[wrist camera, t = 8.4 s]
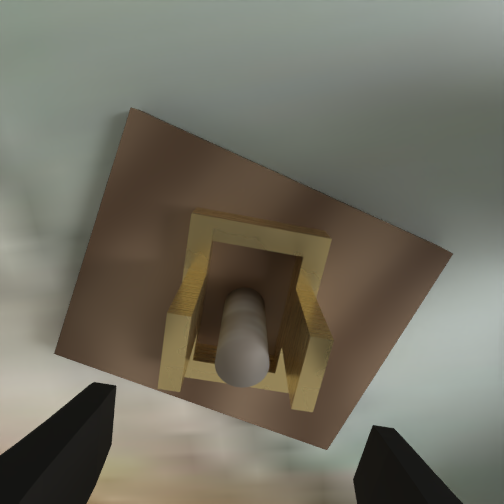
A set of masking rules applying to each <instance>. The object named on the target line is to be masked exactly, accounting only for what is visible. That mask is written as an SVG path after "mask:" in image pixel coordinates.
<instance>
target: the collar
mask: <svg viewBox="0 0 504 504" xmlns="http://www.w3.org/2000/svg"><path fill="white" fill-rule="evenodd" d="M214 241H217V242H222V243H228V244H234V245H239V246H245V247H250V248H256V249H262V250H267V251H273V252H278V253H284V254H290V255H295V256H297V258H296V262H295V266H294V270H293V274H292V279H291V283H290V287H289V291H288V296H287V300H286V304H285V308H284V312H283V317H282V321H281V325H280V329H279V334H278V338H277V342H276V346H275V350H274V355H269V370H268V373H267V375H266V376H265V378H264V379H263V380H262V381H261V382H259V383H258V384H256V385H253V386H250V387H252V388H258V389H265V390H271V391H278V392H284V393H289V398H290V404H291V409H294V410H301V411H307V412H313V410H314V407H315V404H316V400H317V397H318V393H319V390H320V386H321V383H322V380H323V376H324V373H325V369H326V366H327V362H328V359H329V356H330V352H331V349H332V345H333V342H334V339H333V337H332V334H331V332H330V330H329V327H328V325H327V323H326V320H325V318H324V315H323V313H322V311H321V308H320V306H319V304H318V301H317V299H316V297H317V294H318V290H319V286H320V282H321V278H322V275H323V271H324V267H325V263H326V260H327V256H328V252H329V248H330V244H331V241H332V239H331V237H330V236H329V235H328V234H327V233H326V231H324V230H319V229H313V228H308V227H302V226H297V225H291V224H286V223H281V222H275V221H270V220H264V219H259V218H253V217H248V216H242V215H237V214H231V213H226V212H221V211H215V210H210V209H204V208H199V207H197V208H196V209H195V210H194V211H193V212H192V213H191V220H190V227H189V235H188V242H187V249H186V257H185V264H184V271H183V279H182V284H181V286H180V288H179V290H178V292H177V294H176V296H175V298H174V300H173V302H172V304H171V306H170V308H169V310H168V312H167V317H166V325H165V333H164V341H163V349H162V357H161V365H160V373H159V381H158V389H163V390H169V391H176V392H180V391H181V388H182V384H183V381H184V377H187V378H194V379H200V380H207V381H213V382H220V383H225V382H224V381H223V380H222V379H221V378H220V377H219V376H218V374H217V372H216V369H215V358H216V352H217V346H213V345H207V344H200V343H198V337H199V330H200V324H201V318H202V312H203V305H204V299H205V293H206V286H207V280H208V274H209V268H210V261H211V255H212V249H213V243H214ZM226 384H227V383H226Z"/></svg>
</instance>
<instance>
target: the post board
mask: <svg viewBox="0 0 504 504" xmlns="http://www.w3.org/2000/svg"><path fill="white" fill-rule="evenodd" d="M197 207H199V208H204V209H210V210H215V211H221V212H226V213H231V214H237V215H242V216H248V217H253V218H259V219H264V220H270V221H275V222H281V223H286V224H291V225H297V226H302V227H308V228H313V229H319V230H324V231H326V233H327V234H328V235H329V236H330V237H331V239H332V241H331V244H330V248H329V252H328V256H327V260H326V263H325V267H324V271H323V275H322V278H321V282H320V286H319V290H318V294H317V297H316V299H317V301H318V304H319V306H320V308H321V311H322V313H323V315H324V318H325V320H326V323H327V325H328V327H329V330H330V332H331V334H332V337H333V339H334V342H333V345H332V349H331V352H330V356H329V359H328V362H327V366H326V369H325V373H324V376H323V380H322V383H321V386H320V390H319V393H318V397H317V400H316V404H315V407H314V410H313V412H307V411H301V410H294V409H291V404H290V398H289V393H284V392H278V391H271V390H265V389H258V388H252V387H250V386H253V385H256V384H258V383H259V382H261V381H262V380H263V379H264V378H265V376H266V375H267V373H268V370H269V355H274V350H275V346H276V342H277V338H278V334H279V329H280V325H281V321H282V317H283V312H284V308H285V304H286V300H287V296H288V291H289V287H290V283H291V279H292V274H293V270H294V266H295V262H296V258H297V256H295V255H290V254H284V253H278V252H273V251H267V250H262V249H256V248H250V247H245V246H239V245H234V244H228V243H222V242H217V241H214V243H213V249H212V255H211V261H210V268H209V274H208V280H207V286H206V293H205V299H204V305H203V312H202V318H201V324H200V330H199V337H198V343H200V344H207V345H213V346H217V352H216V358H215V369H216V372H217V374H218V376H219V377H220V378H221V379H222V380H223V381H224V382H225V383H220V382H213V381H207V380H200V379H194V378H187V377H184V381H183V384H182V388H181V391H180V392H176V391H169V390H163V389H158V381H159V373H160V365H161V357H162V349H163V341H164V333H165V325H166V317H167V312H168V310H169V308H170V306H171V304H172V302H173V300H174V298H175V296H176V294H177V292H178V290H179V288H180V286H181V284H182V279H183V271H184V264H185V257H186V249H187V242H188V235H189V227H190V220H191V213H192V212H193V211H194V210H195V209H196V208H197ZM452 255H453V253H451V252H449V251H447V250H445V249H444V248H442V247H440V246H438V245H435V244H433V243H431V242H429V241H427V240H424V239H422V238H420V237H418V236H416V235H413V234H411V233H409V232H407V231H405V230H402V229H400V228H398V227H396V226H394V225H391V224H389V223H387V222H385V221H383V220H380V219H378V218H376V217H374V216H372V215H369V214H367V213H365V212H363V211H361V210H358V209H356V208H354V207H352V206H350V205H347V204H345V203H343V202H341V201H339V200H336V199H334V198H332V197H330V196H328V195H325V194H323V193H321V192H319V191H317V190H314V189H312V188H310V187H308V186H306V185H303V184H301V183H299V182H297V181H295V180H292V179H290V178H288V177H286V176H284V175H281V174H279V173H277V172H275V171H273V170H270V169H268V168H266V167H264V166H262V165H259V164H257V163H255V162H253V161H250V160H248V159H246V158H244V157H242V156H239V155H237V154H235V153H233V152H231V151H228V150H226V149H224V148H222V147H220V146H217V145H215V144H213V143H211V142H209V141H206V140H204V139H202V138H200V137H198V136H195V135H193V134H191V133H189V132H187V131H184V130H182V129H180V128H178V127H176V126H173V125H171V124H169V123H167V122H165V121H162V120H160V119H158V118H156V117H154V116H151V115H149V114H147V113H145V112H143V111H140V110H137V109H134V108H130V112H129V115H128V118H127V121H126V124H125V128H124V131H123V134H122V137H121V140H120V144H119V147H118V150H117V153H116V157H115V160H114V163H113V166H112V169H111V173H110V176H109V179H108V182H107V185H106V189H105V192H104V195H103V198H102V202H101V205H100V208H99V211H98V214H97V218H96V221H95V224H94V227H93V230H92V234H91V237H90V240H89V243H88V247H87V250H86V253H85V256H84V259H83V263H82V266H81V269H80V272H79V275H78V279H77V282H76V285H75V288H74V292H73V295H72V298H71V301H70V304H69V308H68V311H67V314H66V317H65V321H64V324H63V327H62V330H61V333H60V337H59V340H58V343H57V346H56V349H55V353H54V354H56V355H59V356H62V357H65V358H67V359H70V360H73V361H76V362H79V363H82V364H84V365H87V366H90V367H93V368H96V369H99V370H101V371H104V372H107V373H110V374H113V375H116V376H118V377H121V378H124V379H127V380H130V381H133V382H135V383H138V384H141V385H144V386H147V387H150V388H152V389H155V390H158V391H161V392H164V393H167V394H169V395H172V396H175V397H178V398H181V399H184V400H186V401H189V402H192V403H195V404H198V405H201V406H203V407H206V408H209V409H212V410H215V411H218V412H220V413H223V414H226V415H229V416H232V417H235V418H237V419H240V420H243V421H246V422H249V423H252V424H254V425H257V426H260V427H263V428H266V429H269V430H271V431H274V432H277V433H280V434H283V435H286V436H288V437H291V438H294V439H297V440H300V441H303V442H305V443H308V444H311V445H314V446H317V447H320V448H322V449H325V450H327V449H328V448H329V446H330V445H331V443H332V442H333V440H334V438H335V437H336V435H337V434H338V432H339V431H340V429H341V428H342V426H343V424H344V423H345V421H346V420H347V418H348V417H349V415H350V414H351V412H352V410H353V409H354V407H355V406H356V404H357V403H358V401H359V400H360V398H361V396H362V395H363V393H364V392H365V390H366V389H367V387H368V386H369V384H370V382H371V381H372V379H373V378H374V376H375V375H376V373H377V372H378V370H379V368H380V367H381V365H382V364H383V362H384V361H385V359H386V357H387V356H388V354H389V353H390V351H391V350H392V348H393V347H394V345H395V343H396V342H397V340H398V339H399V337H400V336H401V334H402V333H403V331H404V329H405V328H406V326H407V325H408V323H409V322H410V320H411V319H412V317H413V315H414V314H415V312H416V311H417V309H418V308H419V306H420V305H421V303H422V301H423V300H424V298H425V297H426V295H427V294H428V292H429V291H430V289H431V287H432V286H433V284H434V283H435V281H436V280H437V278H438V277H439V275H440V273H441V272H442V270H443V269H444V267H445V266H446V264H447V263H448V261H449V259H450V258H451V256H452ZM226 383H227V384H226Z"/></svg>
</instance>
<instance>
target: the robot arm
mask: <svg viewBox="0 0 504 504" xmlns="http://www.w3.org/2000/svg"><path fill="white" fill-rule="evenodd" d="M115 396H116V385H109V384H103V383H96V382H93V383H92V384H90V385H89V386H88V387H86V388H85V389H84V390H83V391H82V392H80V393H79V394H78V395H77V396H76V397H74V398H73V399H72V400H71V401H70V402H68V403H67V404H66V405H65V406H63V407H62V408H61V409H60V410H59V411H57V412H56V413H55V414H54V415H52V416H51V417H50V418H49V419H47V420H46V421H45V422H44V423H42V424H41V425H40V426H38V427H37V428H36V429H35V430H33V431H32V432H31V433H29V434H28V435H27V436H25V437H24V438H23V439H22V440H20V441H19V442H18V443H16V444H15V445H14V446H12V447H11V448H10V449H8V450H7V451H5V452H4V453H3V454H1V455H0V504H86V503H87V501H88V499H89V497H90V495H91V493H92V491H93V489H94V487H95V485H96V483H97V480H98V478H99V475H100V473H101V470H102V468H103V465H104V463H105V460H106V457H107V455H108V452H109V450H110V447H111V444H112V432H113V420H114V408H115ZM353 481H354V487H355V493H356V499H357V504H463V503H462V502H461V501H460V500H459V499H458V498H457V497H456V496H455V495H454V494H453V492H452V491H451V490H450V489H449V488H448V487H447V486H446V485H445V484H444V483H443V482H442V480H441V479H440V478H439V477H438V476H437V475H436V474H435V473H434V472H433V471H432V469H431V468H430V467H429V466H428V465H427V464H426V463H425V462H424V461H423V459H422V458H421V457H420V456H419V455H418V454H417V453H416V452H415V451H414V449H413V448H412V447H411V446H410V445H409V444H408V443H407V442H406V441H405V440H404V439H403V437H402V436H401V435H400V434H399V433H398V432H397V431H396V430H395V429H394V428H388V427H382V426H375V425H373V426H372V429H371V432H370V434H369V437H368V440H367V443H366V445H365V448H364V451H363V454H362V457H361V459H360V462H359V465H358V468H357V470H356V473H355V476H354V479H353Z"/></svg>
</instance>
